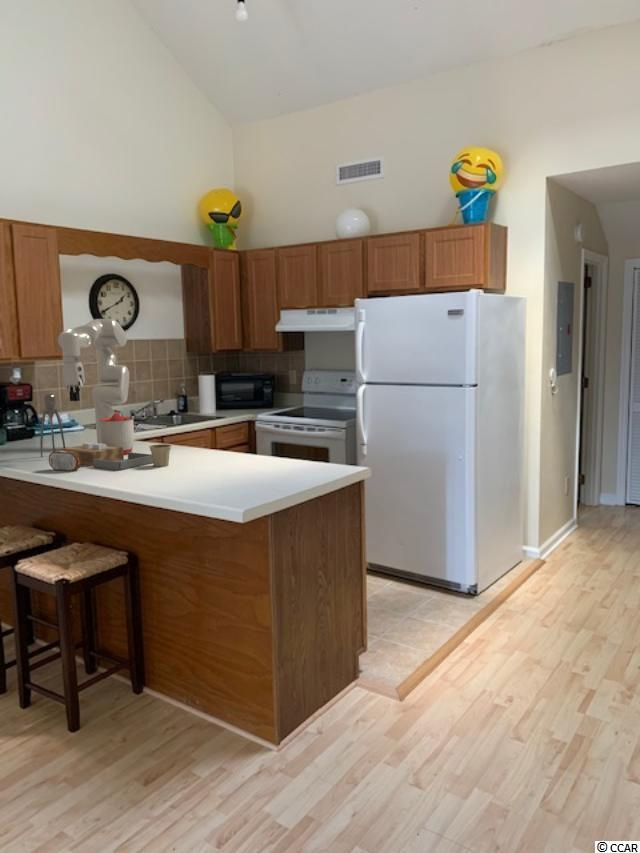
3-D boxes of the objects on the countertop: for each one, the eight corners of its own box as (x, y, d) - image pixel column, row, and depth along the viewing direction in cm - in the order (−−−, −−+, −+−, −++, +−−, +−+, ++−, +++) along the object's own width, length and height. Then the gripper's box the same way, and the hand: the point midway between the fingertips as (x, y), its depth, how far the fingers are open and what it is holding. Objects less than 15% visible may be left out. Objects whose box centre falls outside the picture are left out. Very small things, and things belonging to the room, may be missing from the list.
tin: (82, 470, 280) (81, 450, 279) (77, 472, 277) (76, 451, 276) (53, 469, 285) (51, 449, 284) (48, 470, 282) (46, 450, 281)
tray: (129, 459, 303) (129, 452, 303) (155, 462, 294) (155, 454, 294) (93, 467, 287) (92, 459, 286) (120, 470, 278) (119, 462, 277)
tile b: (100, 447, 301) (100, 443, 301) (106, 448, 299) (106, 443, 299) (93, 449, 298) (92, 444, 298) (99, 449, 296) (98, 445, 295)
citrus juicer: (143, 453, 320) (141, 412, 317) (107, 457, 310) (104, 414, 307) (133, 449, 332) (130, 409, 330) (97, 453, 323) (95, 412, 320)
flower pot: (177, 464, 289) (176, 444, 288) (163, 468, 281) (162, 448, 280) (159, 463, 293) (158, 443, 292) (145, 467, 285) (144, 447, 284)
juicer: (66, 455, 320) (61, 392, 316) (54, 459, 309) (50, 394, 305) (46, 455, 321) (42, 392, 317) (34, 459, 310) (29, 394, 306)
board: (91, 456, 314) (91, 443, 314) (123, 460, 303) (122, 447, 302) (62, 462, 301) (61, 448, 300) (94, 466, 289) (93, 452, 289)
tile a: (90, 446, 305) (89, 442, 305) (96, 447, 303) (95, 442, 303) (82, 447, 302) (82, 443, 301) (88, 448, 299) (88, 444, 299)
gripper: (90, 359, 300) (93, 400, 303) (68, 360, 309) (71, 399, 311) (76, 360, 294) (79, 402, 296) (54, 360, 303) (57, 401, 305)
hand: (74, 400), depth 304 cm, fingers closed
